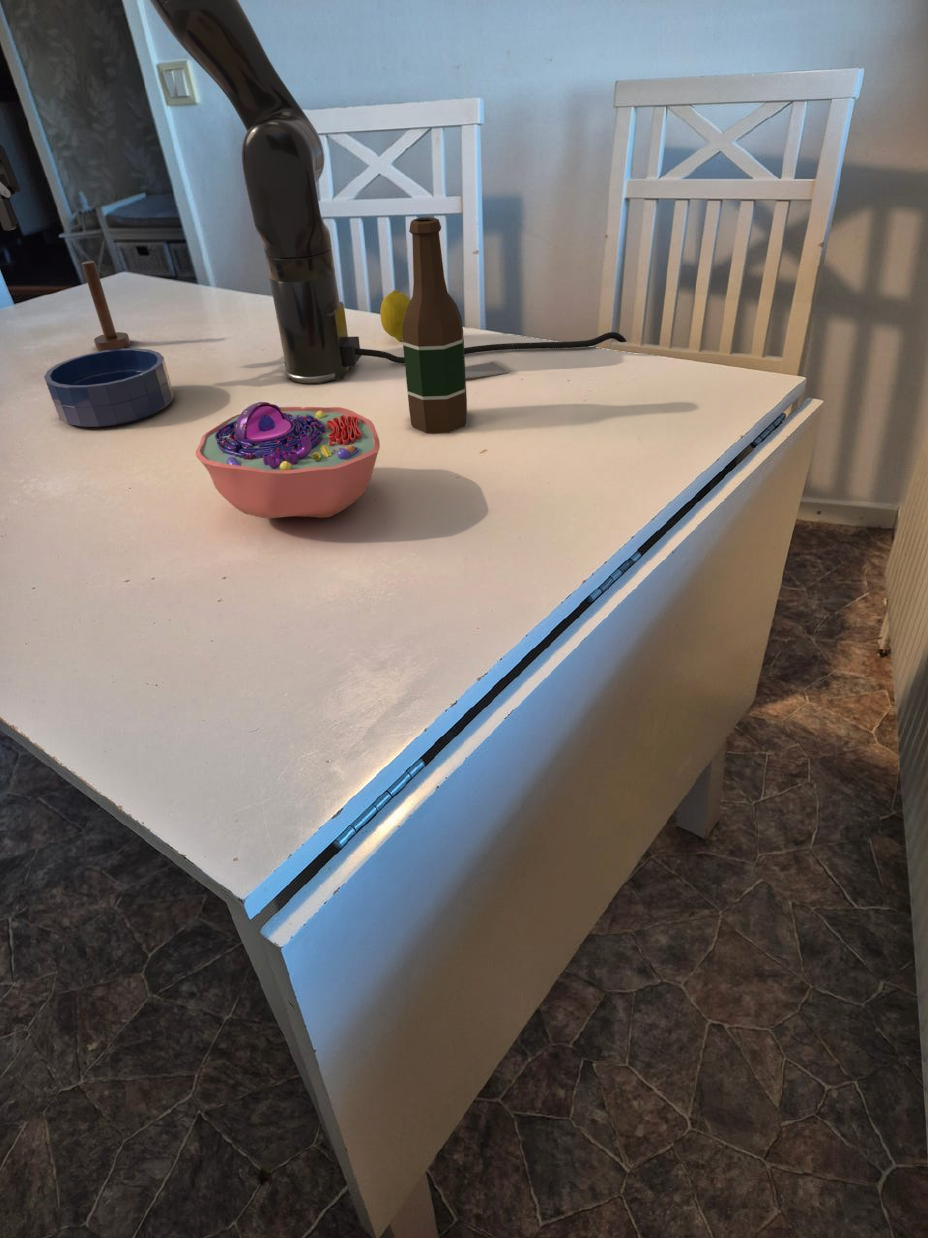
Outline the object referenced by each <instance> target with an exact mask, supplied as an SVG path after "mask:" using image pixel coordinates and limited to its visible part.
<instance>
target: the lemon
mask: <svg viewBox="0 0 928 1238" xmlns="http://www.w3.org/2000/svg"><path fill="white" fill-rule="evenodd" d="M410 300H411V298H409V296H408V295H406V294H405V293H403V292H401V291H398V290H397V289H394V290H391V292H390V293H388V294H387V295H386V296H385V297H384V298H383V300H382V301H381V305H380V311H379V312H380V313H379V314H380V315H379V316H380V323H381V326H382V328H383V330H384V331H385V333H386V334H388V335H389V336H390V337H393V338H395V339H396V340H397V341H399V342H401V341H403V334H402V326H403V321H404V317H405V312H406V309H407V306H408V304H409V302H410Z"/></svg>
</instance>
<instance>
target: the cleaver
mask: <svg viewBox="0 0 928 1238" xmlns="http://www.w3.org/2000/svg"><path fill="white" fill-rule="evenodd" d="M509 373H510V372H509V371H508V370H506V369H505V368H503V367H502V366H501V365H499V364H498V363H496V362H494V361H491V362H486V363H479V364H474V365H467V366H465V375H466V380H467V379H474V378H475V379H476V378H480V377H481V378H482V377H489V376H495V375H502V374H509Z"/></svg>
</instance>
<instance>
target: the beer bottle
mask: <svg viewBox="0 0 928 1238" xmlns="http://www.w3.org/2000/svg"><path fill="white" fill-rule="evenodd" d="M408 231H409V233H410V234H411V238H412V239H411V240H412V241H411V242H412V243H411V244H412V271H413V272H412V275H413V276H412V277H413V278H412V279H413V286H412V287H413V288H412V296H411V298H410V302H409V304H408V306H407V309H406V312H405V317H404V321H403V326H402V334H403V339H402V349H403V357H404V361H405V364H404V369H405V371H404V372H405V380H406V390H407V401H408V411H409V418H410V424H411V427H412V428H414V429H416V430H418V431H420V432H423V433H425V434H449V433H451V432H454V431H456V430H458V429H461V428H463V427H465V426H466V424H467V417H468V395H467V394H468V393H467V379H466V375H465V367H466V360H465V359H466V357H465V355H466V354H464V348H465V340H464V339H465V338H464V337H465V336H464V327H463V319H462V318H463V317H462V315H461V312H460V309H459V307H458V305H457V303H456V301H455V300H454V299H453V297H452V296H451V295H450V293H449V291H448V288H447V283H446V279H445V271H444V262H443V256H442V254H443V253H442V247H441V239H440V238H441V237H440V231H442V225H441V221H440V219H438V218H436V217H431V216H428V217H427V216H426V217H418V218H414V219H412V220H411V221H410V224H409V230H408Z"/></svg>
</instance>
